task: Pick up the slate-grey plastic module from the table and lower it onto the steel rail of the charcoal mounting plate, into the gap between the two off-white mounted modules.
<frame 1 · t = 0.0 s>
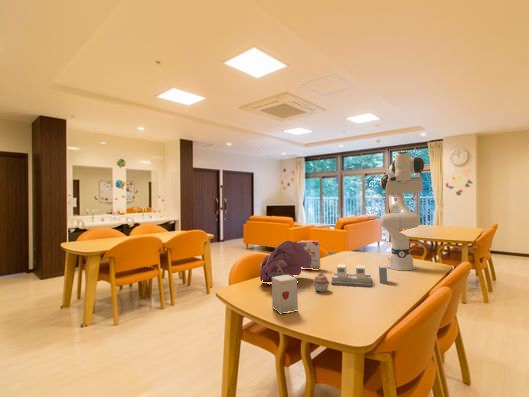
hand: (404, 200, 173), 48 cm above the table, tool pointing down, fingers open, 8 cm apart
rail plate: (351, 281, 173), on the table
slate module: (383, 282, 170), on the table
cracker box: (310, 269, 208), on the table
cupcake: (321, 291, 158), on the table
supplement box: (285, 310, 131), on the table
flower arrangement: (283, 283, 176), on the table
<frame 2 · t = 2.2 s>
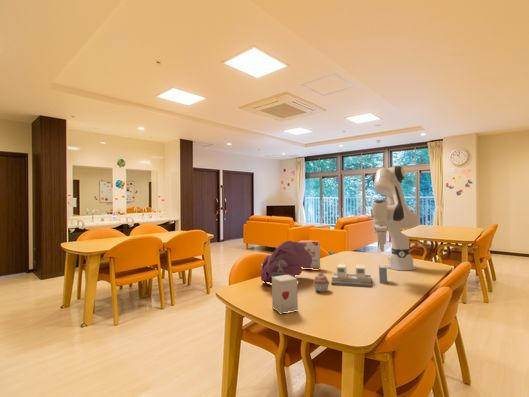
hand: (381, 250, 170), 19 cm above the table, tool pointing down, fingers open, 8 cm apart
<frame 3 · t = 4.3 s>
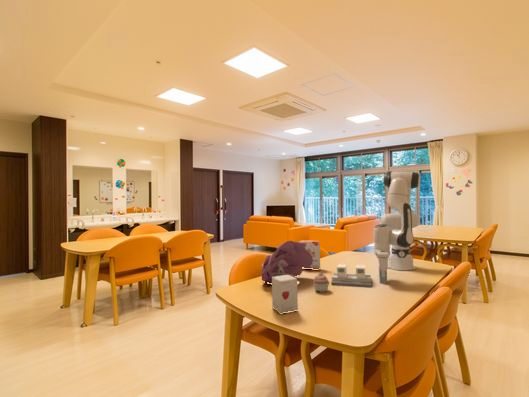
hand: (383, 275, 170), 4 cm above the table, tool pointing down, fingers closed on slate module, 6 cm apart
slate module: (383, 281, 170), on the table, touching gripper
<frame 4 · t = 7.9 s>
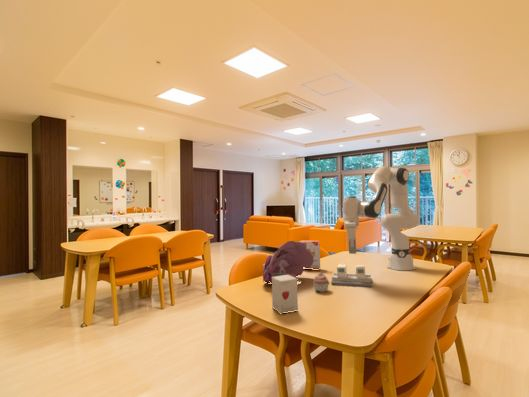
hand: (352, 245, 173), 22 cm above the table, tool pointing down, fingers closed on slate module, 6 cm apart
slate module: (352, 252, 173), point 18 cm above the table, touching gripper
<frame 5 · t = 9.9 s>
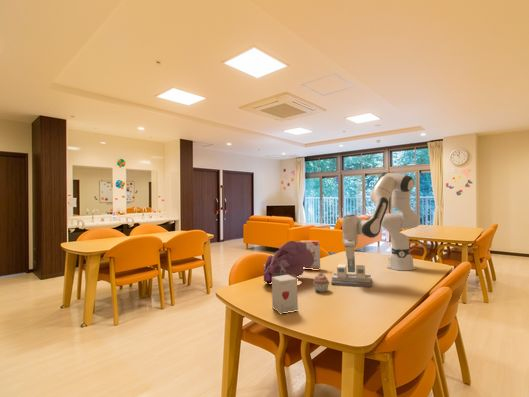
hand: (351, 264, 173), 11 cm above the table, tool pointing down, fingers closed on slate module, 6 cm apart
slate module: (351, 271, 173), point 6 cm above the table, touching gripper
when the fingers open (8 cm above the table, at t = 11.4 s): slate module drops 1 cm, resting on rail plate.
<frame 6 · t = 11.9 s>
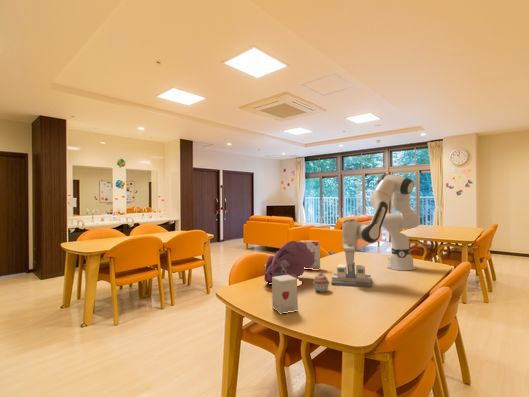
hand: (351, 269, 173), 8 cm above the table, tool pointing down, fingers open, 8 cm apart
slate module: (351, 277, 173), point 2 cm above the table, touching rail plate
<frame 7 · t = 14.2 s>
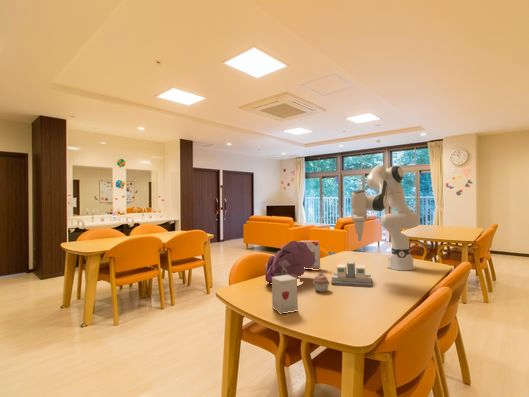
hand: (360, 239, 175), 25 cm above the table, tool pointing down, fingers open, 8 cm apart
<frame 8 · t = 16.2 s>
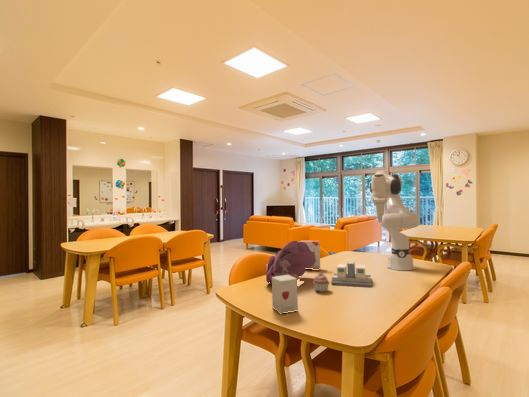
hand: (380, 222, 178), 35 cm above the table, tool pointing down, fingers open, 8 cm apart
at the end: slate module 0.1 cm off-centre on the rail plate, point 2.3 cm above the rail plate's base; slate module tilted 0°; the gripper is holding nothing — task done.
